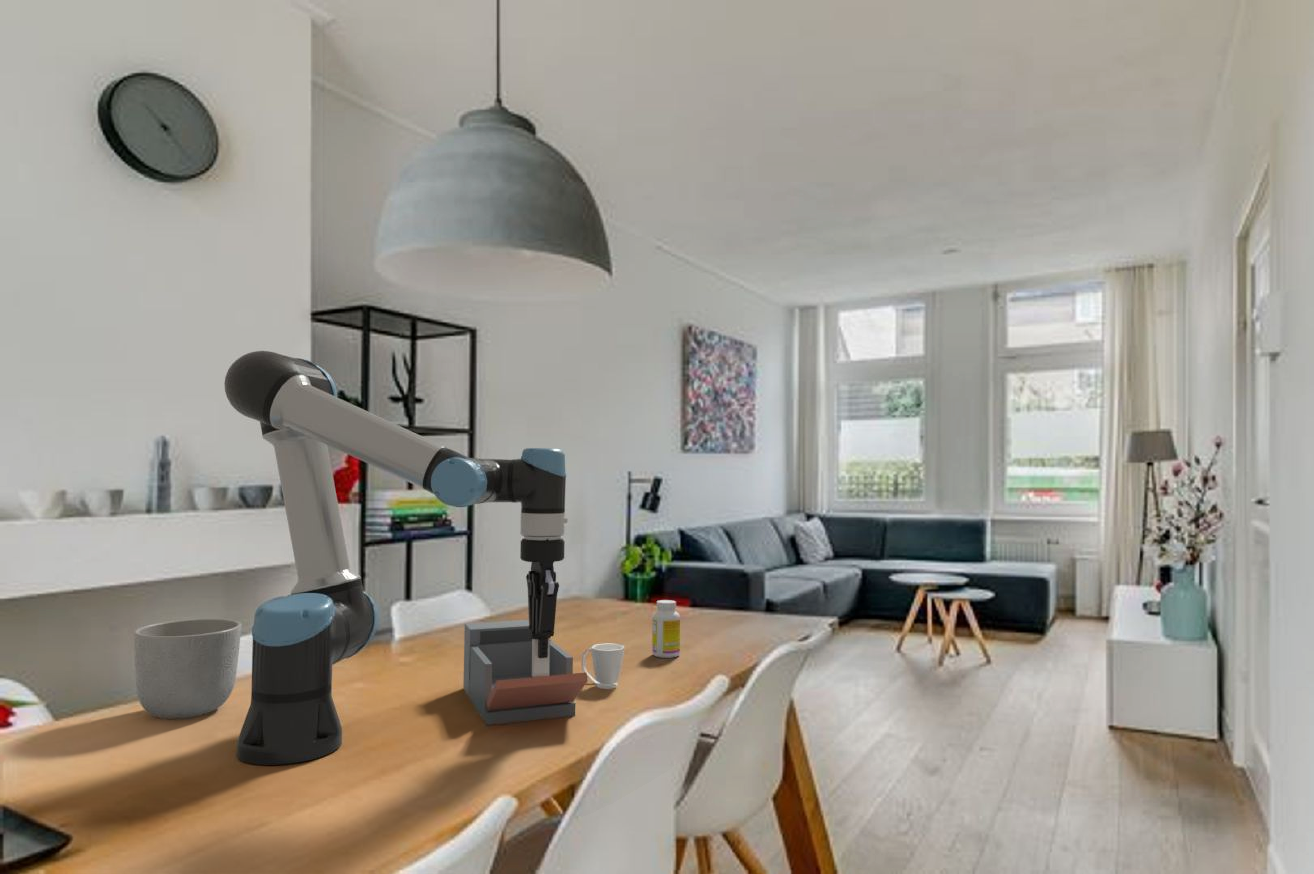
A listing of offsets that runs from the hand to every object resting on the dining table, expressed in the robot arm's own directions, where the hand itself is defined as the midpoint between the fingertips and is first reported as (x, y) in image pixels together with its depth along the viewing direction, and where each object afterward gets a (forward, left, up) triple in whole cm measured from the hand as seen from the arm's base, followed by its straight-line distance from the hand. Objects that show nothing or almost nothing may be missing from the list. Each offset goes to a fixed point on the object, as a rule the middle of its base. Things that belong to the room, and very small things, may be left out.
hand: (540, 675), depth 139 cm
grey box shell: (0, +27, -9) cm, 29 cm away
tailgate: (0, +7, -6) cm, 9 cm away
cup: (+19, +24, -9) cm, 32 cm away
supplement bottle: (+42, +44, -9) cm, 61 cm away
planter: (-57, +32, -9) cm, 66 cm away
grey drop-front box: (0, +15, -9) cm, 17 cm away
